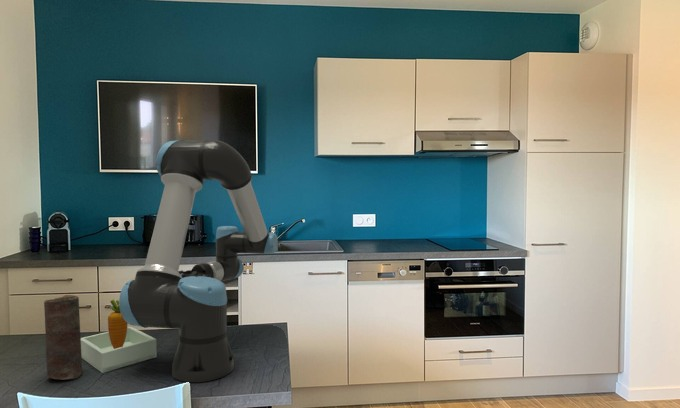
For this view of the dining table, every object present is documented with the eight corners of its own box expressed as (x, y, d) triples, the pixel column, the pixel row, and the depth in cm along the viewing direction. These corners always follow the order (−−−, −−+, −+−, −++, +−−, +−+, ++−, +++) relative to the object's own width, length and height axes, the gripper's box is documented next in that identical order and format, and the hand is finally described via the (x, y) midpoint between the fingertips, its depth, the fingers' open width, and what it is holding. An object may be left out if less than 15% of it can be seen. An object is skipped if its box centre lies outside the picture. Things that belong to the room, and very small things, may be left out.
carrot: (131, 350, 124) (131, 297, 123) (121, 356, 119) (120, 301, 118) (115, 349, 124) (115, 296, 124) (104, 355, 119) (103, 300, 119)
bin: (156, 356, 121) (156, 339, 121) (102, 373, 111) (102, 353, 111) (130, 342, 132) (130, 326, 132) (79, 356, 121) (79, 338, 121)
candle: (46, 386, 103) (44, 302, 103) (45, 375, 109) (43, 295, 109) (84, 378, 108) (82, 297, 107) (80, 368, 114) (79, 291, 113)
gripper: (234, 288, 145) (183, 302, 127) (181, 280, 157) (127, 292, 139) (234, 266, 145) (183, 276, 126) (181, 259, 157) (127, 268, 138)
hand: (153, 284), depth 132 cm, fingers open, 13 cm apart
